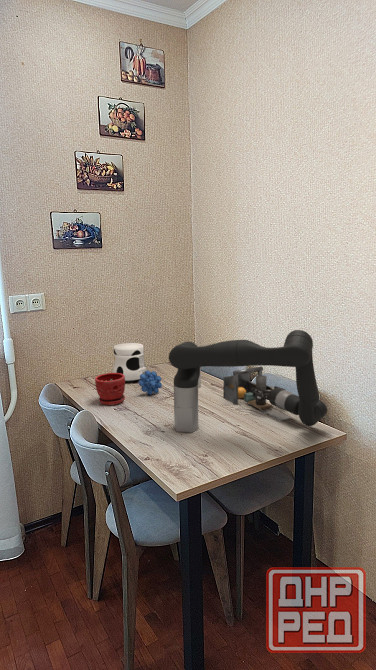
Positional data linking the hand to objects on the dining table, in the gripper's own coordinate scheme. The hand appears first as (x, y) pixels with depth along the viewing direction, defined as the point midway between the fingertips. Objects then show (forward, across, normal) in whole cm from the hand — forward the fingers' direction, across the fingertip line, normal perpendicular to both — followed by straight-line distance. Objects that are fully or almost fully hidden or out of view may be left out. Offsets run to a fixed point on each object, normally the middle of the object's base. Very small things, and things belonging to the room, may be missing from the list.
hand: (257, 388), depth 194 cm
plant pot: (+38, +53, +8) cm, 66 cm away
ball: (+12, 0, +6) cm, 14 cm away
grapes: (+37, +34, +8) cm, 51 cm away
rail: (-12, 0, +8) cm, 14 cm away
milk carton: (+38, +12, +8) cm, 40 cm away
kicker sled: (0, 0, +7) cm, 7 cm away
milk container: (+66, +33, +8) cm, 74 cm away
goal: (+12, 0, +8) cm, 14 cm away
